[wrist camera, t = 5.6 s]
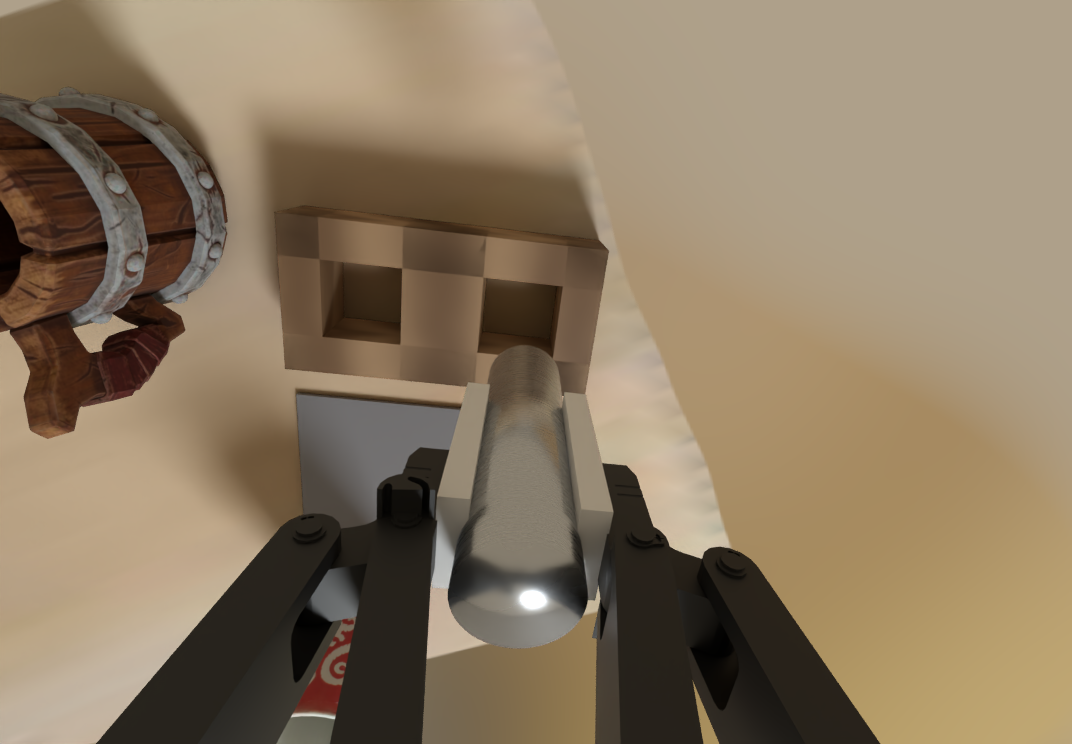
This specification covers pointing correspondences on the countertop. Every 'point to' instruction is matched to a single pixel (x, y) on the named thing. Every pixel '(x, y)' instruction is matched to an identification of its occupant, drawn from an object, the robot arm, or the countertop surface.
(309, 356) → the hole block
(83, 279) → the mug
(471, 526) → the peg
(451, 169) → the countertop surface
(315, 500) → the mat
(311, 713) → the mug
